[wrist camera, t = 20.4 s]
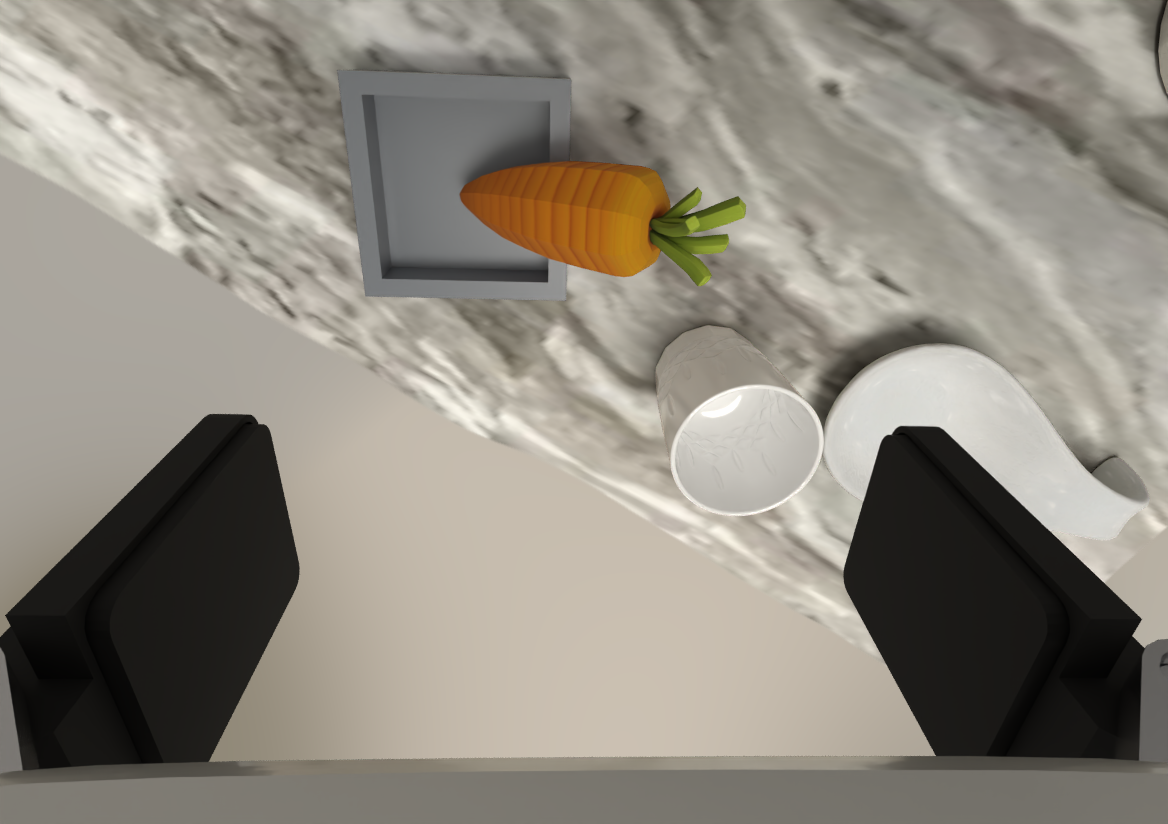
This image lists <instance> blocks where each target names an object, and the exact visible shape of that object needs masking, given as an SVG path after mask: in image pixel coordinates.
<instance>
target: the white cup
mask: <svg viewBox="0 0 1168 824" xmlns="http://www.w3.org/2000/svg"><path fill="white" fill-rule="evenodd" d="M656 392H657V396H658V397H657V399H658V407H659V413H660V419H661V425H662V429H663V434H664V438H665V443H666V447H667V452H668V457H669V461H670V466H671V471H672V475H673V478H674V480H675V482H676V484H677V486H678V488H679V489H680V491H681V492H682V493H683V494H684V496H685V497H686V498H687V499H689V500H690V501H691V502H692V503H694V504H695V505H697V506H698V507H700V508H702V509H704V510H706V511H709V512H712V513H716V514H720V515H726V516H746V515H753V514H758V513H761V512H765V511H768V510H770V509H773V508H775V507H777V506H779V505H781V504H783V503H784V502H786V501H788V500H789V499H791V498H792V497H793V496H795V495H796V494H797V493H798V492H799V491H800V490H801V489H802V488H803V487H804V486H805V485H806V484H807V483H808V482H809V480H810V479H811V478H812V476H813V475H814V473H815V471H816V469H817V467H818V465H819V463H820V460H821V457H822V452H823V446H824V436H823V429H822V425H821V422H820V420H819V418H818V416H817V414H816V412H815V411H814V409H813V408H812V407H811V406H810V404H809V403H808V402H807V401H806V400H805V399H804V398H803V397H802V396H801V395H800V394H799V392H798V391H797V390H796V389H795V388H794V387H793V386H792V385H791V384H790V382H789V381H788V380H787V379H786V378H785V377H784V376H783V374H782V373H781V372H780V371H779V370H778V369H777V368H776V367H775V366H774V365H773V364H772V363H771V362H770V361H769V360H768V359H767V358H766V357H765V356H764V355H763V354H762V353H761V352H760V351H759V350H758V349H757V348H755V347H754V345H753V344H752V343H751V342H750V341H749V340H747V339H746V338H745V337H743V336H742V335H740V334H739V333H737V332H736V331H734V330H733V329H731V328H726V327H718V326H710V325H706V326H703V327H700V328H696V329H693V330H690V331H686V332H684V333H682V334H681V335H680V336H679V337H678V338H676V339H675V340H674V341H673V342H672V343H670V344H669V345H668V346H667V347H666V348H665V350H664V352H663V354H662V356H661V358H660V360H659V362H658V364H657V366H656Z"/></svg>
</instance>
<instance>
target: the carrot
mask: <svg viewBox="0 0 1168 824" xmlns="http://www.w3.org/2000/svg"><path fill="white" fill-rule="evenodd" d="M459 195H460V199H461V202H462V203H463V204H464V206H465V207H466V208H467V209H468V210H469V211H470V212H471V213H473V214H474V215H475V216H476V217H477V218H478V219H479V220H480V221H481V222H482V223H483V224H484V225H486V226H487V227H488V228H490V229H491V230H493V231H494V232H495V233H497V234H498V235H500V236H501V237H502V238H504V239H506V240H508V241H510V242H513V243H515V244H517V245H519V246H521V247H523V248H525V249H527V250H530V251H532V252H534V253H537V254H539V255H542V256H544V257H546V258H549V259H552V260H555V261H559V262H562V263H566V264H570V265H573V266H577V267H581V268H584V269H589V270H593V271H597V272H601V273H605V274H610V275H614V276H620V277H628V276H633V275H635V274H637V273H638V272H640V271H642V270H644V269H645V268H647V267H649V266H650V265H652V264H653V263H654V262H656V260H657V258H658V256H659V254H660V252H661V251H662V252H664V253H665V254H666V255H667V256H668V257H669V258H671V259H672V260H673V261H674V262H675V263H676V264H677V265H678V266H680V267H681V268H682V269H683V270H684V271H685V272H686V273H687V274H688V275H689V276H690V278H691V279H692V280H693V281H694V282H695V283H696V284H697V286H702V285H704V284H706V283H707V282H708V281H709V280H710V278H711V276H712V275H711V273H710V271H709V269H708V268H707V267H706V266H705V265H704V264H703V262H702V261H701V260H700V259H698V258H697V257H695V256H694V255H692V254H713V253H721V252H723V251H724V250H725V249H726V248H727V246H728V244H729V238H728V234H724V235H712V236H703V237H689V236H687V235H690V234H692V233H694V232H701V231H705V230H709V229H712V228H716V227H719V226H722V225H726V224H728V223H731V222H734V221H736V220H739V219H742V218H744V216H745V212H746V204H745V203H744V202H743V201H742V200H741V199H740V198H739V197H738V196H737V197H735V198H732V199H729V200H726V201H724V202H721V203H719V204H716V205H714V206H711V207H709V208H707V209H704V210H701V211H698V212H695V213H691V214H688V215H685V216H682V215H684V214H685V213H686V212H688V211H689V210H691V209H692V208H693V207H695V206H696V205H697V204H698V203H699V202H700V200H701V195H702V192H701V191H700V190H699V188H698V187H697V188H696V189H695V190H693V191H692V192H691V193H690V194H688V195H687V196H686V197H685V198H683V199H682V200H681V201H680V202H678V203H677V204H676V205H675V206H673V207H672V208H671V209H670V200H669V198H668V195H667V193H666V190H665V187H664V185H663V182H662V180H661V178H660V177H659V175H658V174H657V172H656V171H654V170H652V169H650V168H647V167H642V166H633V165H622V164H611V163H597V162H579V161H563V162H550V163H539V164H531V165H522V166H516V167H511V168H507V169H503V170H499V171H496V172H493V173H490V174H486V175H483V176H481V177H479V178H477V179H475V180H473V181H471V182H469V183H467V184H466V185H464V187H463V188H462V190H461V192H460V193H459Z"/></svg>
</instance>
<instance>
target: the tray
mask: <svg viewBox="0 0 1168 824" xmlns="http://www.w3.org/2000/svg"><path fill="white" fill-rule="evenodd" d="M337 72H338V80H339V88H340V96H341V104H342V112H343V120H344V128H345V136H346V144H347V152H348V160H349V168H350V176H351V184H352V192H353V200H354V208H355V216H356V224H357V232H358V241H359V249H360V257H361V265H362V273H363V281H364V289H365V296H374V297H421V298H468V299H515V300H562V301H566V281H567V264H566V263H562V262H559V261H555V260H552V259H549V258H546V257H544V256H542V255H539V254H537V253H534V252H532V251H530V250H527V249H525V248H523V247H521V246H519V245H517V244H515V243H513V242H510V241H508V240H506V239H504V238H502V237H501V236H500V235H498V234H497V233H495V232H494V231H493V230H491V229H490V228H488V227H487V226H486V225H484V224H483V223H482V222H481V221H480V220H479V219H478V218H477V217H476V216H475V215H474V214H473V213H471V212H470V211H469V210H468V209H467V208H466V207H465V206H464V204H463V203H462V202H461V199H460V195H459V193H460V192H461V190H462V188H463V187H464V185H466V184H467V183H469V182H471V181H473V180H475V179H477V178H479V177H481V176H483V175H486V174H490V173H493V172H496V171H499V170H503V169H507V168H511V167H516V166H522V165H531V164H539V163H550V162H563V161H569V156H570V115H571V79H570V78H552V77H527V76H502V75H477V74H451V73H426V72H401V71H376V70H337Z"/></svg>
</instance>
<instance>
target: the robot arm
mask: <svg viewBox="0 0 1168 824" xmlns="http://www.w3.org/2000/svg"><path fill="white" fill-rule="evenodd" d="M1158 52H1159V63H1160V74H1161V77H1162V80H1163V83H1164V86H1165V89H1166V92H1167V94H1168V1H1167V5H1166V8H1165V12H1164V16H1163V20H1162V23H1161V30H1160V40H1159V50H1158ZM298 580H299V561H298V556H297V552H296V547H295V543H294V538H293V534H292V529H291V524H290V520H289V515H288V511H287V506H286V501H285V497H284V492H283V488H282V483H281V478H280V474H279V470H278V465H277V460H276V456H275V451H274V446H273V442H272V437H271V433H270V430H269V428H268V427H267V426H266V425H264V424H258V422H257V420H256V419H255V418H254V417H253V416H252V415H242V414H209V415H207V416H206V417H204V418H203V419H202V420H201V421H200V422H199V423H198V424H197V425H196V426H195V427H194V428H193V429H192V430H191V431H190V433H188V434H187V435H186V436H185V437H184V438H183V439H182V440H181V441H180V442H179V443H178V444H177V445H176V446H175V447H174V448H173V449H172V450H171V451H170V452H169V453H168V454H167V455H166V456H165V457H164V458H163V459H162V460H161V461H160V462H159V463H158V464H157V465H156V466H155V467H154V468H153V469H152V470H151V471H150V472H149V473H148V474H147V475H146V476H145V477H144V478H143V479H142V480H141V481H140V482H139V483H138V484H137V485H136V486H135V487H134V488H133V489H132V490H131V491H130V492H129V493H128V494H127V495H126V496H125V497H124V498H123V499H122V500H121V501H120V502H119V503H118V504H117V505H116V506H115V507H114V508H113V509H112V510H111V511H110V512H109V513H108V514H107V515H106V516H105V517H104V518H103V519H102V520H101V521H100V522H99V523H98V524H97V525H96V526H95V527H94V528H93V529H92V530H91V531H90V532H89V533H88V534H87V535H86V536H85V537H84V538H83V539H82V540H81V541H80V542H79V543H78V544H77V545H76V546H75V547H74V548H73V549H72V550H71V551H70V552H69V553H68V554H67V555H66V556H64V558H62V559H61V560H60V562H58V563H57V564H56V566H54V567H53V568H52V569H51V570H50V571H49V572H48V574H47V575H45V576H44V577H43V578H42V579H41V580H40V581H39V582H38V583H37V584H36V585H35V586H34V587H33V588H32V589H31V590H30V591H29V592H28V593H27V594H26V596H24V597H23V598H22V599H21V600H20V601H19V602H18V603H17V604H16V605H15V606H14V607H13V608H12V609H11V610H10V611H9V612H8V614H6V615H5V616H6V618H7V620H8V621H9V624H10V626H11V627H10V628H9V629H8V630H7V631H6V632H5V633H4V634H3V635H2V636H1V637H0V824H1168V639H1162V640H1157V641H1155V642H1153V643H1151V644H1149V645H1147V646H1146V647H1145V648H1144V647H1143V646H1142V645H1140V643H1139V642H1137V640H1136V639H1135V638H1134V637H1132V635H1133V633H1134V632H1135V630H1136V628H1137V627H1138V625H1139V623H1140V622H1141V620H1142V619H1141V618H1140V617H1139V616H1138V615H1137V614H1136V613H1135V612H1134V611H1133V610H1132V609H1131V608H1130V607H1129V606H1127V604H1125V603H1124V602H1123V601H1122V600H1121V599H1120V598H1119V597H1118V596H1117V595H1116V594H1115V593H1114V592H1113V591H1112V590H1111V589H1110V588H1109V587H1108V586H1107V585H1106V584H1105V583H1104V582H1102V581H1101V580H1100V579H1099V578H1098V577H1097V576H1096V575H1095V574H1094V573H1093V572H1092V571H1091V570H1090V569H1089V568H1088V567H1087V566H1086V565H1085V564H1084V563H1083V562H1082V561H1081V560H1079V559H1078V558H1077V557H1076V556H1075V555H1074V554H1073V553H1072V552H1071V551H1070V550H1069V549H1068V548H1067V547H1066V546H1065V545H1064V544H1063V543H1062V542H1061V541H1060V540H1059V539H1058V538H1056V537H1055V536H1054V535H1053V534H1052V533H1051V532H1050V531H1049V530H1048V529H1047V528H1046V527H1045V526H1044V525H1043V524H1042V523H1041V522H1040V521H1039V520H1038V519H1037V518H1036V517H1035V516H1033V515H1032V514H1031V513H1030V512H1029V511H1028V510H1027V509H1026V508H1025V507H1024V506H1023V505H1022V504H1021V503H1020V502H1019V501H1018V500H1017V499H1016V498H1015V497H1014V496H1013V495H1012V494H1010V493H1009V492H1008V491H1007V490H1006V489H1005V488H1004V487H1003V486H1002V485H1001V484H1000V483H999V482H998V481H997V480H996V479H995V478H994V477H993V476H992V475H991V474H990V473H988V472H987V471H986V470H985V469H984V468H983V467H982V466H981V465H980V464H979V463H978V462H977V461H976V460H975V459H974V458H973V457H972V456H971V455H970V454H969V453H968V452H967V451H965V450H964V449H963V448H962V447H961V446H960V445H959V444H958V443H957V442H956V441H955V440H954V439H953V438H952V437H951V436H950V435H949V434H948V433H947V432H946V431H945V430H943V429H942V428H940V427H936V426H899V427H897V428H896V429H895V430H894V432H893V433H892V435H886V436H885V437H884V438H883V439H882V441H881V444H880V447H879V450H878V453H877V457H876V460H875V464H874V467H873V471H872V474H871V477H870V481H869V484H868V488H867V491H866V495H865V498H864V501H863V505H862V508H861V512H860V515H859V519H858V522H857V525H856V529H855V532H854V536H853V539H852V543H851V546H850V549H849V553H848V556H847V560H846V563H845V567H844V584H845V588H846V590H847V593H848V595H849V596H850V598H851V600H852V602H853V604H854V606H855V607H856V609H857V611H858V613H859V615H860V617H861V618H862V620H863V622H864V624H865V626H866V628H867V630H868V631H869V633H870V635H871V637H872V639H873V641H874V642H875V644H876V646H877V648H878V650H879V652H880V654H881V655H882V657H883V659H884V661H885V663H886V665H887V666H888V668H889V670H890V672H891V674H892V676H893V678H894V679H895V681H896V683H897V685H898V687H899V689H900V690H901V692H902V694H903V696H904V698H905V700H906V701H907V703H908V705H909V707H910V709H911V711H912V712H913V714H914V716H915V718H916V720H917V721H918V723H919V725H920V727H921V729H922V731H923V733H924V735H925V736H926V738H927V740H928V742H929V744H930V746H931V748H932V749H933V751H934V753H935V755H936V756H735V757H734V756H729V757H728V756H726V757H724V756H720V757H719V756H717V757H565V758H564V757H555V758H449V759H447V758H442V759H363V760H362V759H361V760H359V759H358V760H278V761H276V760H275V761H229V762H209V760H210V758H211V756H212V754H213V752H214V750H215V748H216V746H217V744H218V742H219V740H220V738H221V736H222V734H223V732H224V730H225V728H226V726H227V724H228V722H229V720H230V718H231V716H232V714H233V712H234V710H235V708H236V706H237V704H238V703H239V700H240V698H241V696H242V694H243V692H244V691H245V689H246V687H247V685H248V682H249V681H250V679H251V676H252V675H253V673H254V671H255V669H256V667H257V665H258V663H259V661H260V659H261V657H262V655H263V653H264V651H265V649H266V647H267V645H268V643H269V641H270V639H271V637H272V635H273V633H274V631H275V629H276V627H277V625H278V623H279V621H280V619H281V617H282V615H283V613H284V611H285V609H286V607H287V605H288V603H289V601H290V599H291V597H292V595H293V593H294V591H295V589H296V587H297V584H298Z"/></svg>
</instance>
